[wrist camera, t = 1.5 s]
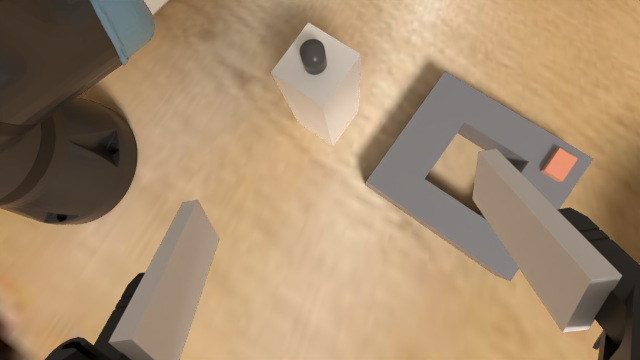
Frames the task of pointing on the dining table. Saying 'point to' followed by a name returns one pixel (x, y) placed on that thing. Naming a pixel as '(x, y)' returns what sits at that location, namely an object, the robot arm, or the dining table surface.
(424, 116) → the socket plate
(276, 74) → the plug
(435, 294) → the dining table surface
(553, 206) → the robot arm
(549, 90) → the dining table surface
